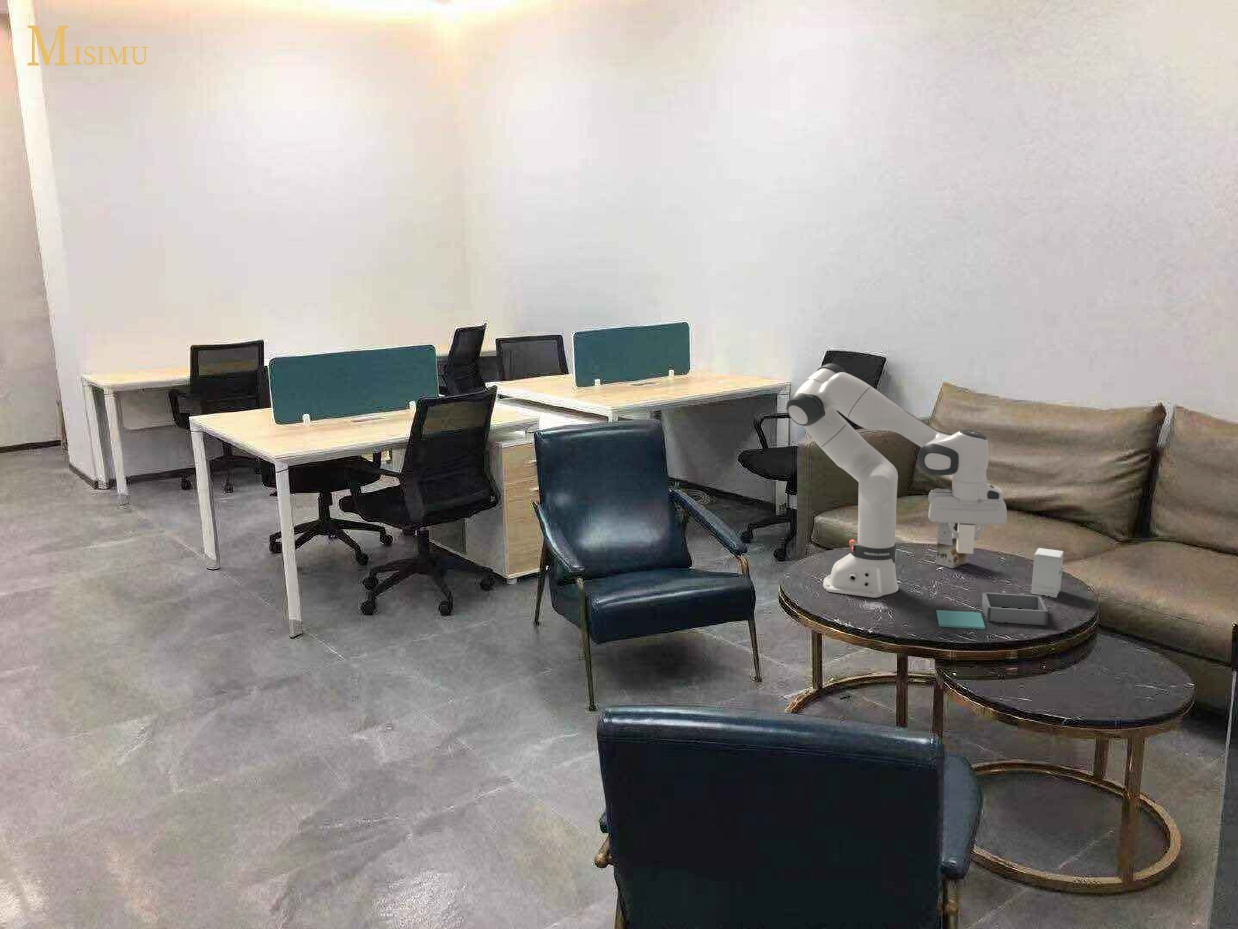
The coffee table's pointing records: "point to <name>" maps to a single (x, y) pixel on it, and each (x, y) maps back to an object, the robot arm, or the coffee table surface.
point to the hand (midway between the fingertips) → (965, 538)
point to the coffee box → (948, 547)
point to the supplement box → (1047, 572)
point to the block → (965, 538)
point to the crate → (1012, 615)
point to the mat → (960, 619)
